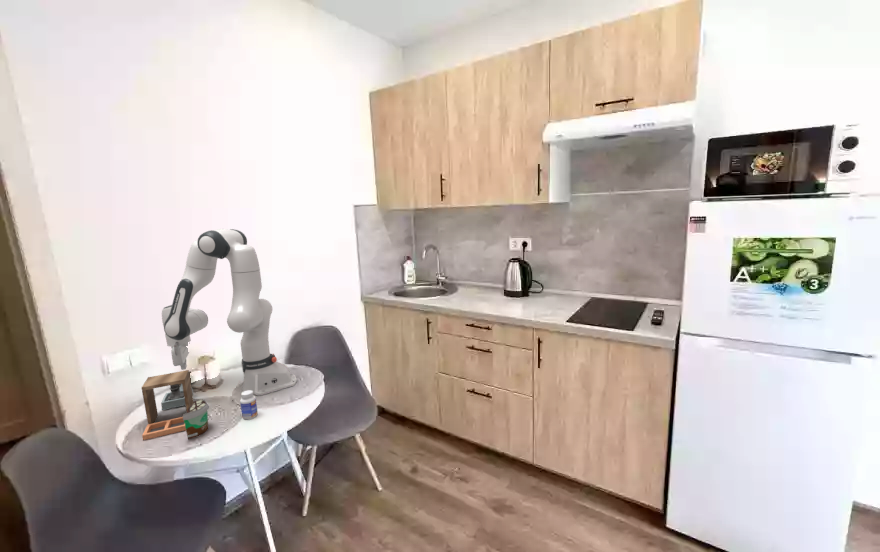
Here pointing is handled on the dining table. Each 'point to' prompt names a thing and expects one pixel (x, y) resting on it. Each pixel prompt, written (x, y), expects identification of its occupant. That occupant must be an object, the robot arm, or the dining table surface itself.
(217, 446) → the dining table surface
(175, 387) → the dark grey upright piece
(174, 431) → the orange flat frame
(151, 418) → the tunnel
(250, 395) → the pill bottle
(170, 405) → the grey piece
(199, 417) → the food container
